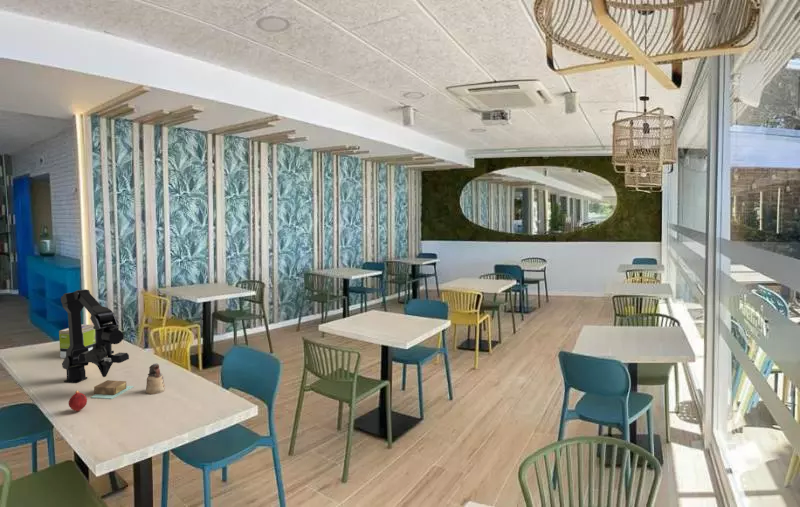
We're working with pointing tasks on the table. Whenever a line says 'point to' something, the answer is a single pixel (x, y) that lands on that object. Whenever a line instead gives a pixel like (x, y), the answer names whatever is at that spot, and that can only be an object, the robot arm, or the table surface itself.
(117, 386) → the menu stand
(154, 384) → the figurine
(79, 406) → the onion
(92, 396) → the mat
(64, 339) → the tea box
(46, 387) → the table surface
